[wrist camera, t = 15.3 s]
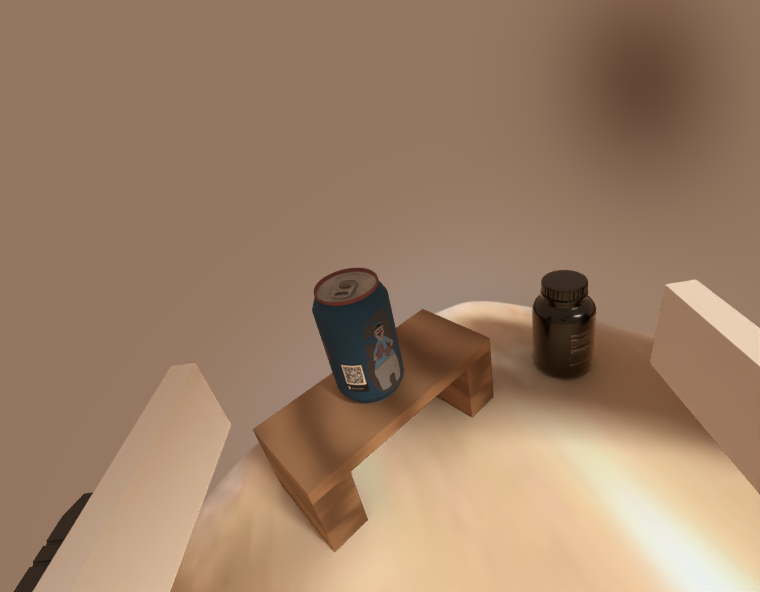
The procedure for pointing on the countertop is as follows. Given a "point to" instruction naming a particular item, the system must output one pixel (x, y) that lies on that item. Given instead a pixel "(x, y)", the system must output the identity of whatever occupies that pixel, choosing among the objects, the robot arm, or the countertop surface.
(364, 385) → the soda can
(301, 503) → the bridge shelf
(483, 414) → the countertop surface
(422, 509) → the countertop surface
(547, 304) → the supplement bottle
